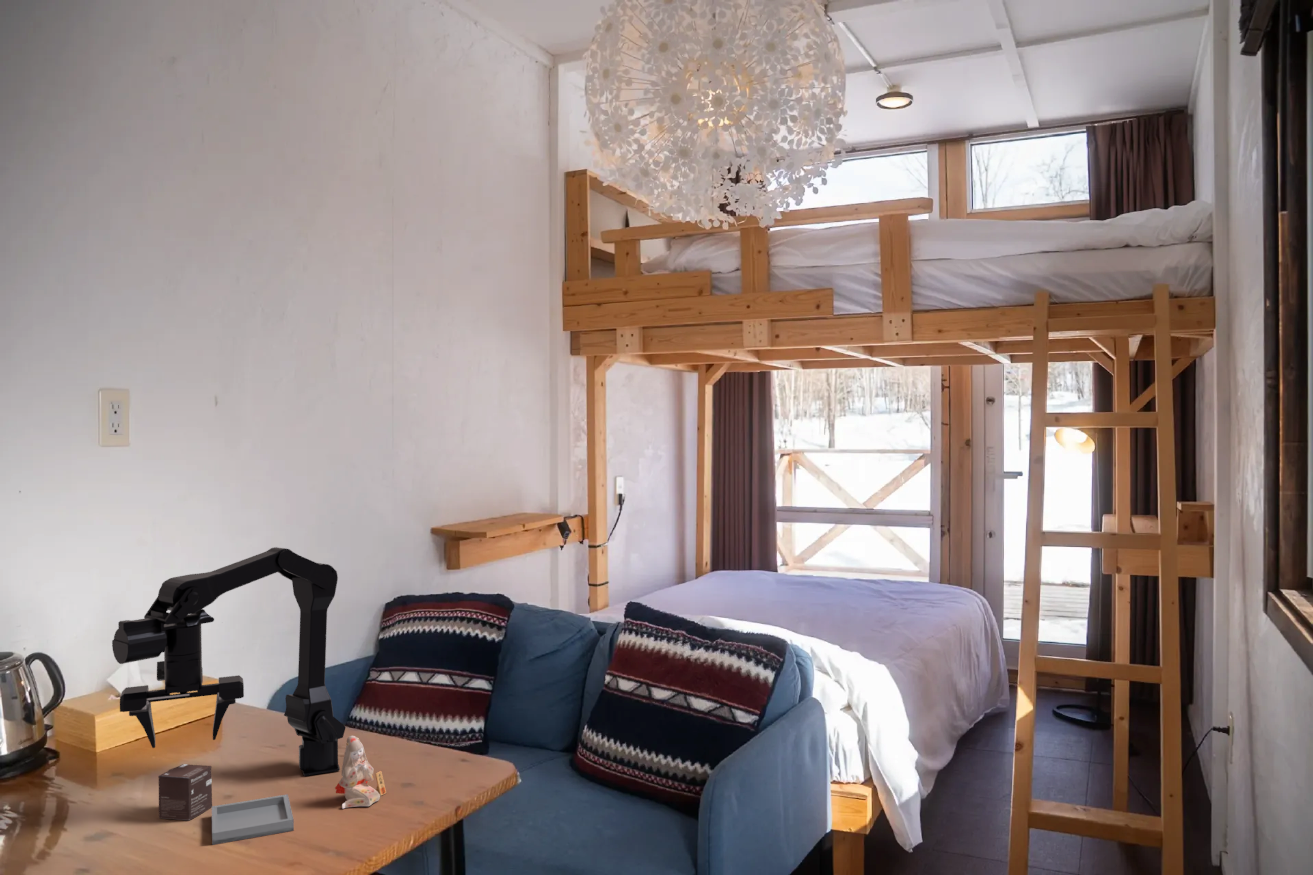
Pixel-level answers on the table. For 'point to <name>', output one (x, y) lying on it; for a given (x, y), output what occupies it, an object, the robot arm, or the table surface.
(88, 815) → the table surface
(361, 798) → the figurine
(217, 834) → the tray
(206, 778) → the box
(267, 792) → the table surface
